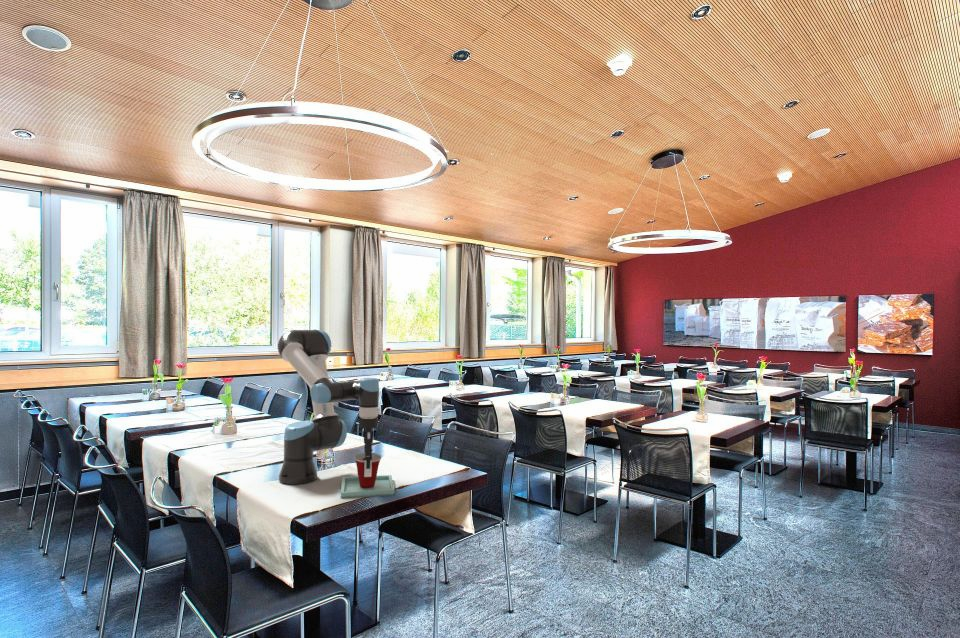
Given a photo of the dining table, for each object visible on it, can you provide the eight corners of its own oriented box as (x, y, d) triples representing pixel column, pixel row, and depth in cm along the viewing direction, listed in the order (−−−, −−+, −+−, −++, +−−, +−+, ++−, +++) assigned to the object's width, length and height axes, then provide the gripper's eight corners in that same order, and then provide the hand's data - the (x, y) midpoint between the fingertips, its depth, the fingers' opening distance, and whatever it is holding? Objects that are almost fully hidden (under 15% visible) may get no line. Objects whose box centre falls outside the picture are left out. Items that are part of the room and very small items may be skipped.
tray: (340, 498, 198) (340, 492, 198) (342, 482, 218) (342, 477, 218) (394, 495, 203) (394, 489, 203) (391, 479, 222) (391, 474, 222)
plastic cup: (357, 491, 203) (357, 460, 203) (350, 483, 213) (351, 454, 213) (384, 488, 208) (385, 457, 208) (376, 480, 218) (377, 451, 218)
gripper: (379, 422, 200) (378, 480, 200) (377, 411, 223) (376, 464, 223) (359, 422, 198) (357, 481, 198) (359, 412, 221) (357, 464, 221)
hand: (367, 472), depth 210 cm, fingers closed on plastic cup, 11 cm apart
